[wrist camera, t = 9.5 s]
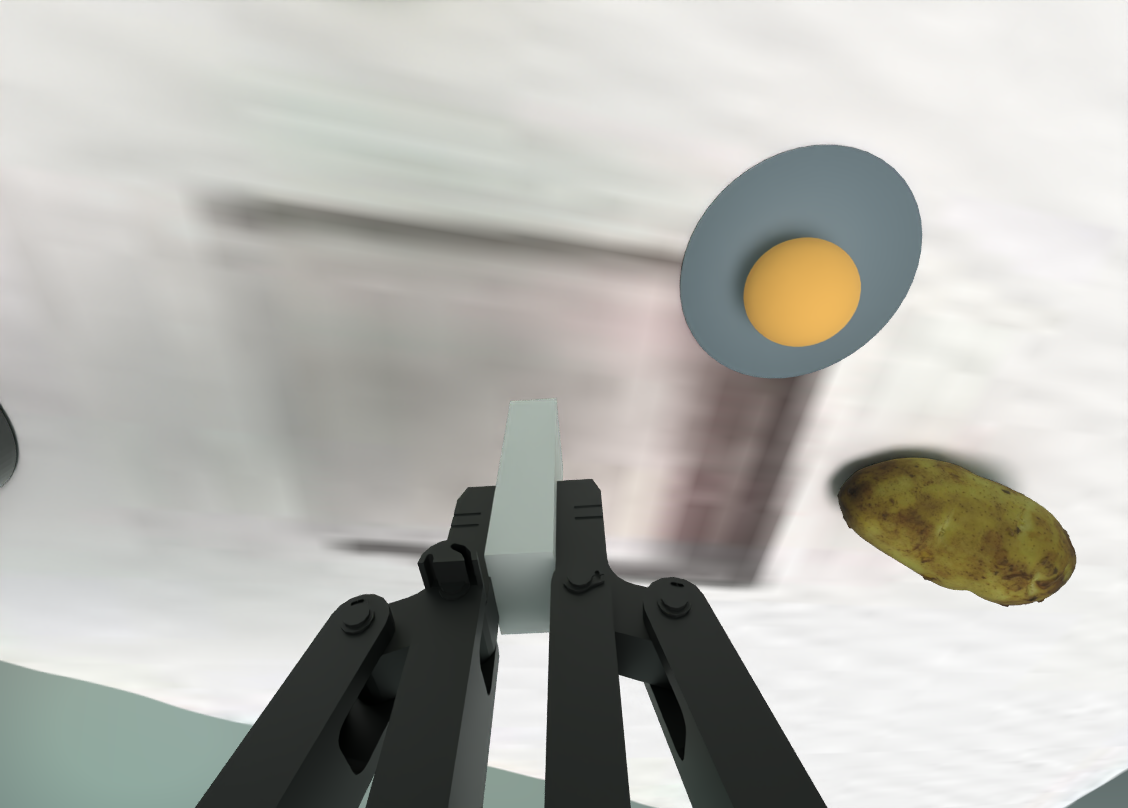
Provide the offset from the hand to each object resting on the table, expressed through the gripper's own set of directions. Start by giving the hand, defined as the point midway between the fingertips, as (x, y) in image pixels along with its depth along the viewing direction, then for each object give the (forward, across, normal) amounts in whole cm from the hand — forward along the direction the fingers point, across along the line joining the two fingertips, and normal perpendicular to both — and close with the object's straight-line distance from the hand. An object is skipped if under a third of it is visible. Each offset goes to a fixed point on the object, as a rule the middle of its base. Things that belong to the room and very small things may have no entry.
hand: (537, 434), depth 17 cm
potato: (+15, +25, -16) cm, 33 cm away
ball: (+12, +13, 0) cm, 18 cm away
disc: (+14, +14, 0) cm, 20 cm away
